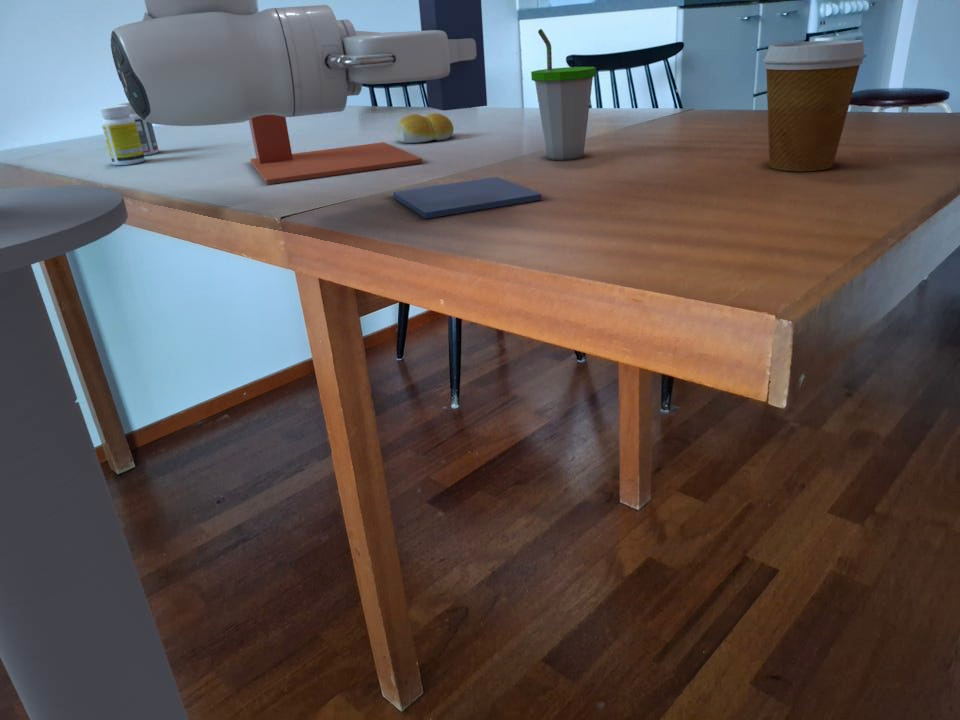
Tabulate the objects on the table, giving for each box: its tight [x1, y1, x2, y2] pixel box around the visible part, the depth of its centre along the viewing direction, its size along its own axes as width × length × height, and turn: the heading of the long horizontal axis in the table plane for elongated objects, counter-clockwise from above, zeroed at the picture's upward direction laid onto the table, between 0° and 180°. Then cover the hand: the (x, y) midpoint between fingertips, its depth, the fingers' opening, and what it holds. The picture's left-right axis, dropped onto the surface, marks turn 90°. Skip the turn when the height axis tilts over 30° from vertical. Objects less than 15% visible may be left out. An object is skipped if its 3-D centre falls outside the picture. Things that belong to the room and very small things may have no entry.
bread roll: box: [395, 112, 455, 144], centre depth 114 cm, size 8×9×4 cm
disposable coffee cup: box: [761, 39, 868, 172], centre depth 74 cm, size 10×10×12 cm
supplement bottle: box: [99, 104, 146, 166], centre depth 111 cm, size 5×5×8 cm
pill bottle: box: [117, 100, 160, 156], centre depth 120 cm, size 5×5×8 cm
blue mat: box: [392, 176, 542, 220], centre depth 74 cm, size 12×11×1 cm
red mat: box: [250, 141, 423, 185], centre depth 99 cm, size 20×19×1 cm
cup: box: [530, 28, 597, 161], centre depth 88 cm, size 8×8×15 cm
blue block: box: [418, 0, 488, 112], centre depth 68 cm, size 4×4×10 cm
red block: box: [248, 115, 293, 164], centre depth 100 cm, size 4×4×10 cm
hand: (461, 48), depth 68 cm, fingers closed on blue block, 4 cm apart
